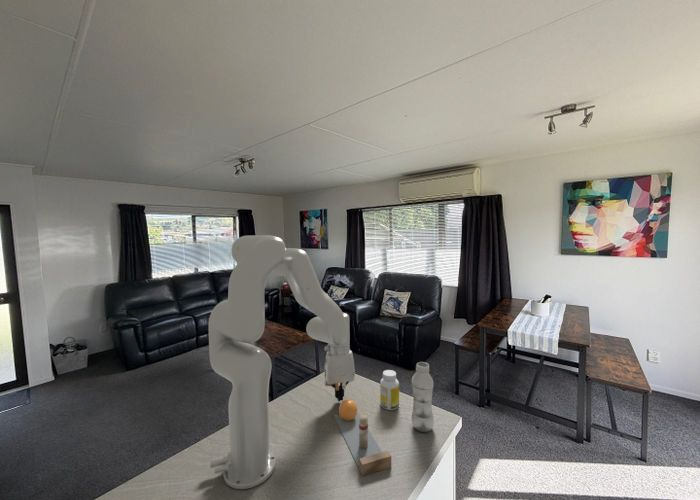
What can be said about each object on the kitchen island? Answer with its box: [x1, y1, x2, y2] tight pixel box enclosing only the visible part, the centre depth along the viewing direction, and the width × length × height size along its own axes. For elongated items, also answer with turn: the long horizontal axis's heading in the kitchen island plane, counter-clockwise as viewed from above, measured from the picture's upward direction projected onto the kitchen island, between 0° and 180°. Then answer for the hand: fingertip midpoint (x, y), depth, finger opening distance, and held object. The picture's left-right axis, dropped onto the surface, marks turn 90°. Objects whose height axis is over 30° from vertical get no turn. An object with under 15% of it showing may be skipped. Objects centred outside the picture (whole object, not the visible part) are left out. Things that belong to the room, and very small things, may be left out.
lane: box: [333, 411, 383, 468], centre depth 85 cm, size 8×22×1 cm, turn 20°
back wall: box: [358, 450, 392, 477], centre depth 73 cm, size 8×2×3 cm, turn 110°
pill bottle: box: [379, 369, 400, 411], centre depth 99 cm, size 6×6×12 cm
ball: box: [338, 398, 359, 421], centre depth 92 cm, size 6×6×6 cm
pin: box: [359, 414, 369, 449], centre depth 80 cm, size 2×2×8 cm
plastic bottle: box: [411, 361, 435, 433], centre depth 87 cm, size 6×7×20 cm
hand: (339, 398), depth 101 cm, fingers closed
